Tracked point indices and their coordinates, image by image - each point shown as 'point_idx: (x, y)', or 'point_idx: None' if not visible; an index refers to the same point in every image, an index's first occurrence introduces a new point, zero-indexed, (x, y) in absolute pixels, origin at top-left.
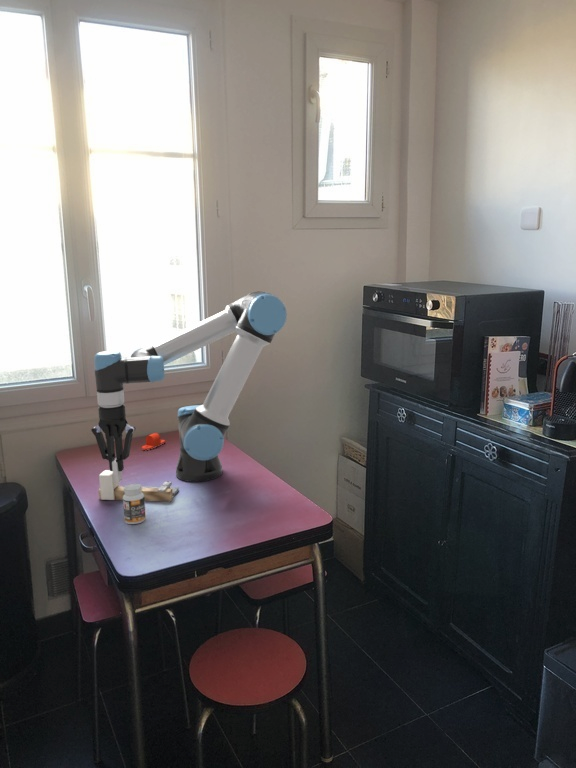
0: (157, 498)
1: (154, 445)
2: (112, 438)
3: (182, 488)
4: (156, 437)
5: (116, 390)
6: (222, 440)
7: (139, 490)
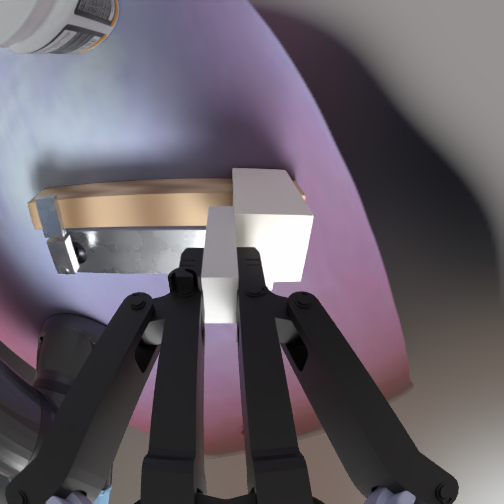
0: (73, 188)
1: None
2: (247, 462)
3: (67, 278)
4: None
5: None
6: None
7: None
